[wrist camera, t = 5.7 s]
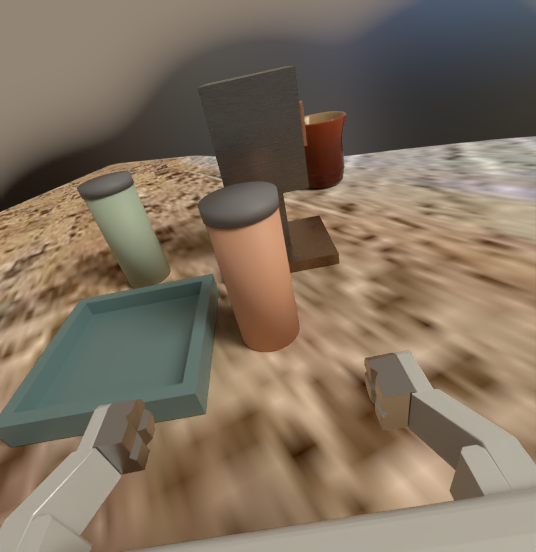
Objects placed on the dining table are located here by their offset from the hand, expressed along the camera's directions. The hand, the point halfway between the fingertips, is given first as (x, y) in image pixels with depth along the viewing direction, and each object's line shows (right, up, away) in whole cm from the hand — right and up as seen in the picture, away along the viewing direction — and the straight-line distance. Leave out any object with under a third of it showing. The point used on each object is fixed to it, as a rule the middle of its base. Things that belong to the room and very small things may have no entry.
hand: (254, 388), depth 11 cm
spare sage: (-14, +4, +27) cm, 31 cm away
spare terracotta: (+1, 0, +16) cm, 16 cm away
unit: (+2, +7, +26) cm, 27 cm away
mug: (+10, +21, +44) cm, 50 cm away
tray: (-11, -3, +16) cm, 20 cm away
